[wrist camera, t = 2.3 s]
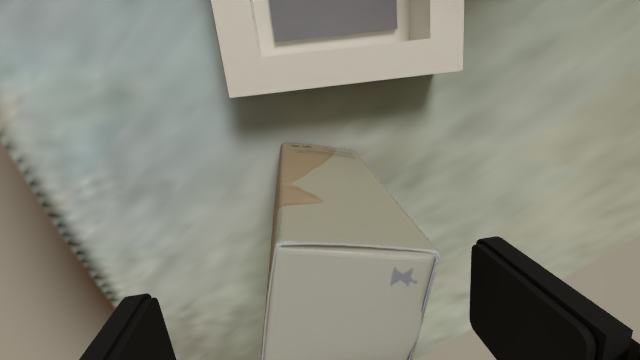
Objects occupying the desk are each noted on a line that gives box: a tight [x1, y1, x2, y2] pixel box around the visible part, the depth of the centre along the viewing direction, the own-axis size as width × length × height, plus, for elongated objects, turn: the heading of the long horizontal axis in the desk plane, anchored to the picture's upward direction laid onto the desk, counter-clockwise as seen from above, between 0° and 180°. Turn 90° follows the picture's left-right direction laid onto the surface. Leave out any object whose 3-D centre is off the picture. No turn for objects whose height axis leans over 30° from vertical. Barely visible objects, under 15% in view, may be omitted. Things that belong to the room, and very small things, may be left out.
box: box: [261, 143, 439, 360], centre depth 14 cm, size 5×4×11 cm
